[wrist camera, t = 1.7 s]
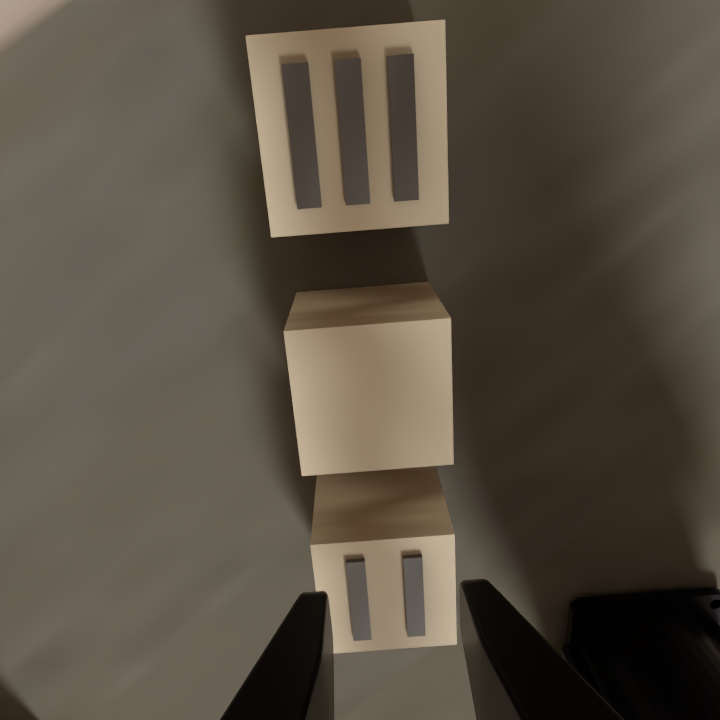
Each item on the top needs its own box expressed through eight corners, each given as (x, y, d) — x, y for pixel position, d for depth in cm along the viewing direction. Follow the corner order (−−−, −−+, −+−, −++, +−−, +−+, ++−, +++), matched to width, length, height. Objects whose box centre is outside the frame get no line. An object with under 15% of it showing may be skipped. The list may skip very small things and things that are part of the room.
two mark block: (433, 460, 22) (455, 537, 18) (436, 555, 23) (457, 648, 19) (317, 468, 22) (310, 548, 18) (328, 563, 24) (323, 658, 19)
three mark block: (420, 50, 17) (446, 18, 13) (425, 206, 19) (450, 224, 14) (270, 63, 17) (244, 34, 13) (288, 217, 19) (270, 238, 14)
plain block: (427, 281, 19) (451, 318, 15) (432, 401, 21) (453, 464, 17) (296, 291, 19) (283, 331, 15) (310, 410, 21) (301, 476, 17)
